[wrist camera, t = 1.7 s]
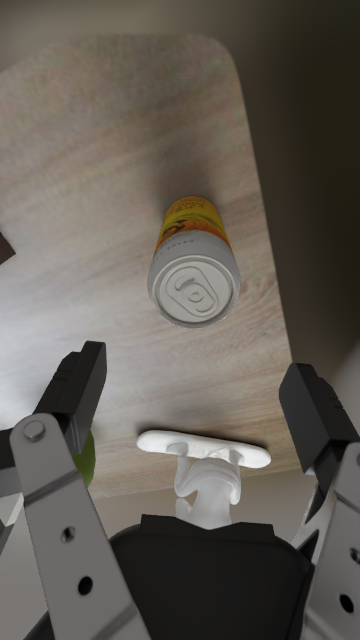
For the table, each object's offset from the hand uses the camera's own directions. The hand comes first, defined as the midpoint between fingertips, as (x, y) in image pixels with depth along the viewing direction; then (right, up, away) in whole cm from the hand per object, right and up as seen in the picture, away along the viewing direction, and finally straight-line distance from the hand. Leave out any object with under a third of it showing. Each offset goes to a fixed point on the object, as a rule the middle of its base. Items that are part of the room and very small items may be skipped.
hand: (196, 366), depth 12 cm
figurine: (+4, -21, +41) cm, 46 cm away
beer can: (+1, +12, +18) cm, 22 cm away
